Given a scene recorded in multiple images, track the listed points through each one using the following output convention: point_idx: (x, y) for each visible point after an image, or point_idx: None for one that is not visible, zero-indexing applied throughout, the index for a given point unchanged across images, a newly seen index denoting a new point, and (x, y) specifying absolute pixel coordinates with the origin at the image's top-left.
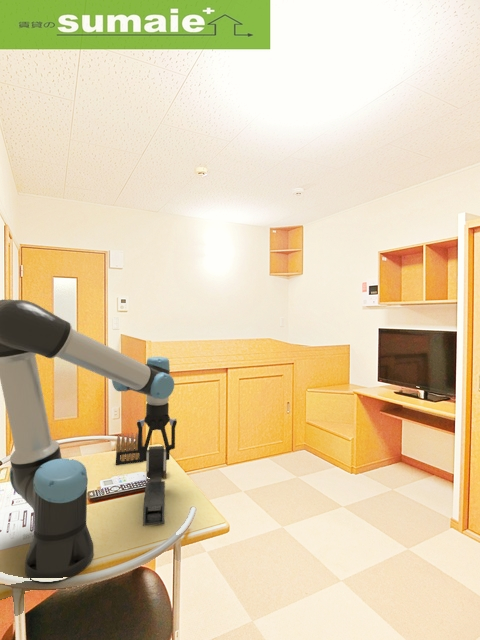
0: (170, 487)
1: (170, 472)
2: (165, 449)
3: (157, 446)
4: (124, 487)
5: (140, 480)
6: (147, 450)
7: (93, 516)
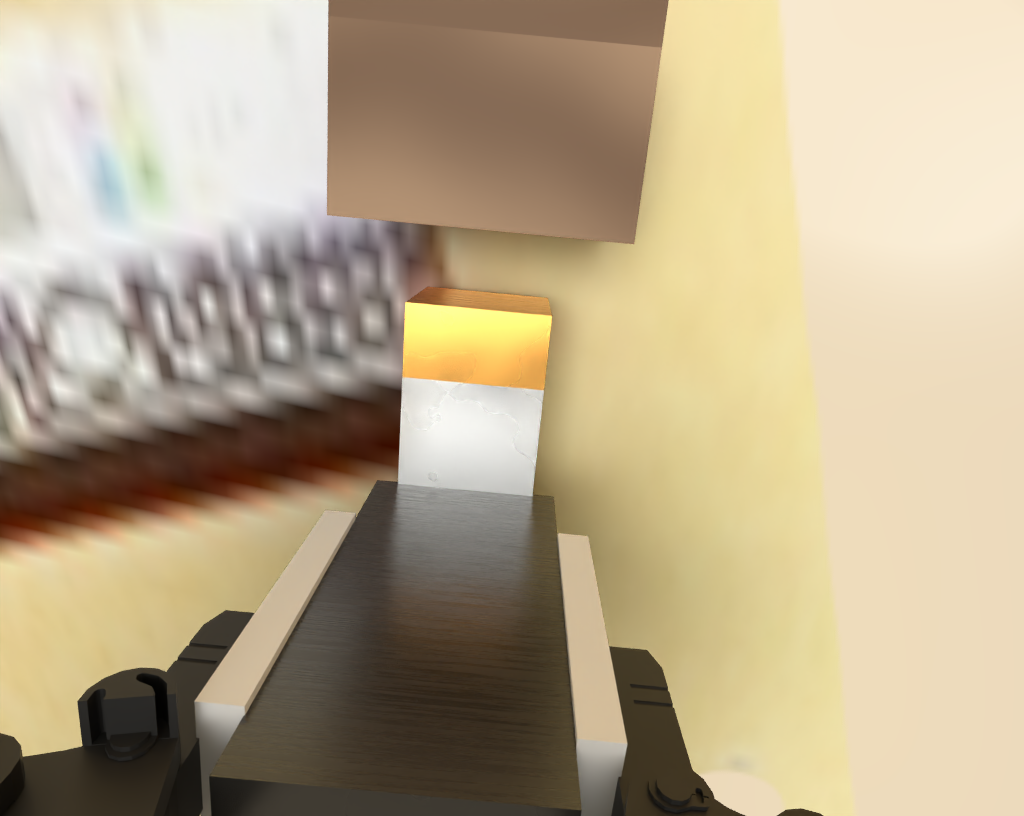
0: (618, 447)
1: (676, 79)
2: (606, 769)
3: (415, 809)
4: (173, 343)
5: (320, 220)
6: (208, 745)
7: (30, 724)
